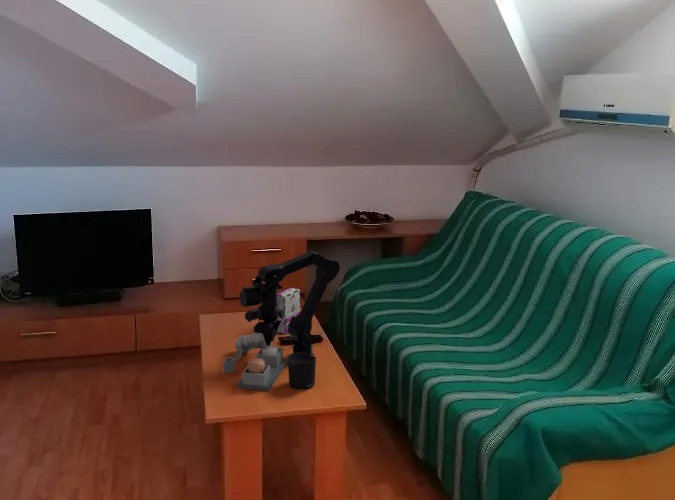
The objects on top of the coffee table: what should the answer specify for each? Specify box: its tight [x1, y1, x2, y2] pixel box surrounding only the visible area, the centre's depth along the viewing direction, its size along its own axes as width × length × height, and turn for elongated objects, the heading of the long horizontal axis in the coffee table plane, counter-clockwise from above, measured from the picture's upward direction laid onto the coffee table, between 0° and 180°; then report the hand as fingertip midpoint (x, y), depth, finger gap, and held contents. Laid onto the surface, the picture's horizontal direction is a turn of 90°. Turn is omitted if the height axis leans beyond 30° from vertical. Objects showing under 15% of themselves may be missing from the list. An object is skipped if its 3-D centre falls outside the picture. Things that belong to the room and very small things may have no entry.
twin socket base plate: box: [236, 347, 288, 392], centre depth 237 cm, size 11×24×6 cm, turn 169°
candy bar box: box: [277, 287, 301, 335], centre depth 279 cm, size 11×5×16 cm, turn 149°
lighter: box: [222, 348, 243, 374], centre depth 240 cm, size 7×2×8 cm, turn 117°
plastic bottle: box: [234, 332, 267, 354], centre depth 250 cm, size 6×7×20 cm
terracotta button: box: [247, 357, 265, 374], centre depth 229 cm, size 6×6×4 cm
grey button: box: [262, 344, 279, 356], centre depth 244 cm, size 6×6×4 cm
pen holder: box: [287, 352, 317, 391], centre depth 229 cm, size 9×9×10 cm
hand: (269, 343), depth 243 cm, fingers open, 4 cm apart
